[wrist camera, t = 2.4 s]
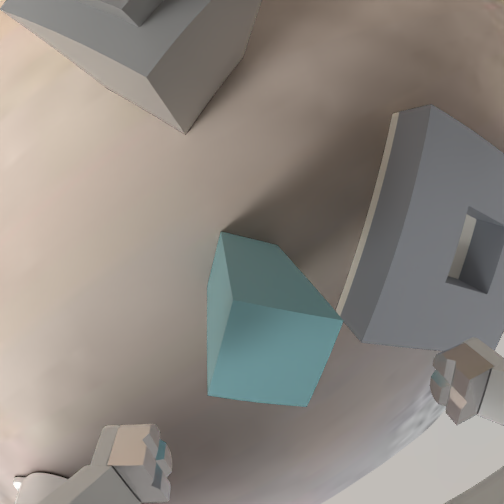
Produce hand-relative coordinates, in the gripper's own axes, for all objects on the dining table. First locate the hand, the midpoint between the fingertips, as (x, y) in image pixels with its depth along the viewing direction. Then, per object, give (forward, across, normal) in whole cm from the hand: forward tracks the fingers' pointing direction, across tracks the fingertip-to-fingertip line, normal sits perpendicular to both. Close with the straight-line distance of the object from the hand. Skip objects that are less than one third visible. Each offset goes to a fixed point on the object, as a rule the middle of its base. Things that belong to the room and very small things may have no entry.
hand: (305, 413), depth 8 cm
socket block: (+16, -16, +2) cm, 23 cm away
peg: (+15, +1, 0) cm, 15 cm away
